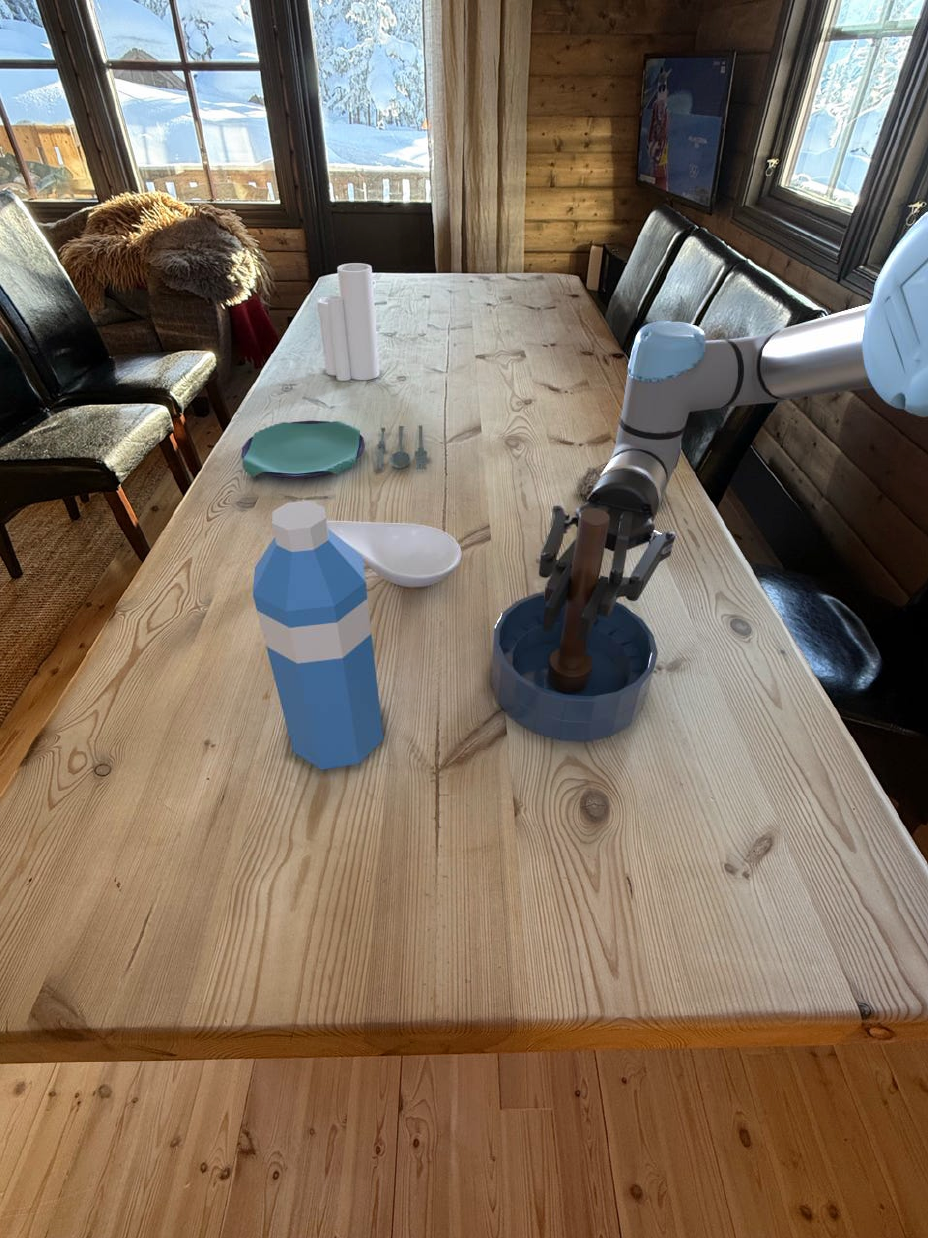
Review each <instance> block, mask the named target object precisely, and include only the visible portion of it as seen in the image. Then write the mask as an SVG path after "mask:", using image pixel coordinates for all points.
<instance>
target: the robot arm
mask: <svg viewBox="0 0 928 1238" xmlns="http://www.w3.org/2000/svg"><path fill="white" fill-rule="evenodd" d="M873 288H874V289H873V293H872V299H871V301H870V302H869V303H868V304H864V305H862V306H858V307H854V308H851V309H847V310H843V311H840V312H836V313H833V314H829V315H826V316H823V317H819V318H816V319H812V320H808V321H805V322H802V323H799V324H794V325H790V326H787V327H784V328H781V329H776V330H773V331H769V332H766V333H763V334H758V335H752V336H751V335H750V336H746V337H738V338H729V339H727V338H726V339H723V338H722V339H713V340H707V337H706V333H705V332H704V330H702V329H701V328H700V327H698V326H697V325H694V324H691V323H687V322H683V321H668V320H660V321H654V322H650V323H647V324H645V325H644V326H642V327H641V328H640V329H639V330H638V332H637V333H636V336H635V338H634V342H633V346H632V349H631V352H630V358H629V361H628V365H627V369H626V371H627V376H626V382H625V389H624V397H623V403H622V410H621V415H620V418H619V422H618V427H617V432H616V439H615V444H614V449H613V452H612V454H611V457H610V458H609V460H608V461H607V462H608V464H607V466H606V467H605V469H604V471H603V473H602V474H601V476H600V478H599V479H598V481H597V483H596V485H595V487H594V488H593V490H592V492H591V494H590V495H589V497H588V499H587V501H585V503H584V504H583V505H581V506H578V507H577V508H576V510H575V511H565V509H564V507H563V506H561V505H553V506H552V507H551V516H550V525H549V532H548V534H547V537H546V539H545V542H544V544H543V547H542V550H541V552H540V559H539V569H538V576H539V577H540V578H544V579H546V578H548V579H547V580H546V583H545V586H544V592H545V593H544V599H545V600H547V601H548V602H547V604H546V606H545V612H544V620H543V628H542V630H544V631H548V632H551V630H552V628H553V626H554V624H555V622H556V620H557V618H558V616H559V614H560V612H561V610H562V608H563V606H564V604H565V602H566V600H567V597H568V590H569V583H570V576H571V569H572V563H573V556H574V549H575V542H576V538H575V539H574V540H573V541H572V543H570V545H569V546H568V547H567V548H566V549H565V551H564V552H563V553H562V554H561V555H560V557H558V556H559V552H560V550H561V546H562V544H563V541H564V536H565V535H566V534H567V533H568V530H570V529H571V528H572V526H573V525H575V527H576V528H577V529H578V522H579V515H580V513H581V512H582V511H583V510H585V509H590V508H595V509H600V510H603V511H605V512H606V513H608V514H609V516H610V521H609V527H608V532H607V538H606V543H605V548H604V549H606V550H608V551H611V552H613V554H612V559H611V565H610V570H609V575H608V576H605V575H600V576H599V581H598V582H597V585H596V587H595V589H594V591H593V593H592V596H591V598H590V600H589V602H588V604H587V607H586V609H585V611H584V613H583V615H582V618H581V624H580V630H579V636H578V640H579V641H583V642H586V641H587V639H588V637H589V634H590V632H591V630H592V627H593V625H594V623H595V620H596V618H597V616H598V615H601V616H605V617H608V616H609V615H610V614H611V612H612V610H613V607H614V605H615V602H617V600H618V599H619V598H622V597H624V598H625V599H626V600H628V601H630V602H636V601H638V600H639V598H640V597H641V595H642V593H643V591H644V590H645V588H646V586H647V584H648V583H649V581H650V580H651V578H652V576H653V574H654V572H655V571H656V569H657V568H658V566H659V564H660V563H661V562H662V561H665V559H667V558H669V557H671V554H672V551H673V547H674V543H675V540H676V533H675V532H674V531H671V530H666V531H663V532H661V533H660V532H659V531H657V530H655V529H656V526H655V523H654V521H655V518H656V517H657V516H656V515H657V513H658V510H659V508H660V506H661V505H662V504H661V501H662V498H663V499H664V495H665V492H666V490H667V487H668V484H669V481H670V480H671V477H672V474H673V472H674V470H675V469H677V467H678V463H679V460H680V456H681V452H682V439H683V435H684V433H685V429H686V424H687V421H688V418H689V415H690V413H691V412H700V411H707V410H715V409H716V410H717V409H724V408H729V407H730V408H732V407H740V406H742V407H743V406H750V405H751V406H752V405H760V404H761V405H762V404H774V403H781V402H784V401H785V402H786V401H787V400H792V399H798V398H805V397H806V398H807V397H814V396H822V395H828V394H829V395H830V394H835V393H836V394H837V393H843V392H851V391H859V390H865V389H872V388H873V389H874V391H875V392H876V394H877V395H878V396H879V398H880V399H882V400H883V401H884V402H885V403H886V404H888V405H889V406H891V407H893V408H895V409H900V410H904V411H905V412H907V413H908V414H911V415H915V416H917V417H921V418H925V417H928V211H927V212H925V213H924V214H923V215H922V216H920V218H919V219H917V221H916V222H915V223H914V224H913V225H912V226H911V227H910V228H909V229H908V231H907V232H906V233H905V234H904V235H903V237H902V238H901V239H900V240H899V242H898V243H897V244H896V246H895V247H894V249H893V250H892V251H891V253H890V255H889V256H888V258H887V259H886V261H885V262H884V265H883V267H882V269H881V270H880V272H879V275H878V277H877V279H876V281H875V283H874V287H873ZM662 502H663V501H662ZM645 544H648V545H647V548H646V549H645V551H644V553H643V554H642V555H641V558H640V559H639V561H638V562H637V563H636V565H635V567H634V569H633V570H632V572H631V573H630V575H629V576H624V573H625V565H626V559H627V553H628V551H629V550H632V549H634V548H637V547H640V546H642V545H645Z"/></svg>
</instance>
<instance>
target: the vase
mask: <svg viewBox="0 0 928 1238" xmlns="http://www.w3.org/2000/svg"><path fill="white" fill-rule="evenodd" d="M336 268H337V278H338V289H339V295H334V294H333V295H329V296H327V297H320V298H317V300H316V303H317V304H316V305H317V311H318V319H319V320H318V321H319V327H320V334H321V335H320V336H321V343H322V351H323V359H324V367H325V373H326V374H327V375H329V376H333V377H334V376H335V377H336V380H337V381H340V382H347V381H350V380H351V379H352V380H356V381H369V380H370V381H371V380H375V379H376V378H378V377H379V376H380V361H379V347H378V335H377V334H378V333H377V321H376V305H375V294H374V280H373V267H372V265H370V264H367V263H361V262H359V263H358V262H354V263H353V262H351V263H344V264H341V265H338V266H337V267H336Z"/></svg>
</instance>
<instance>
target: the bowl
mask: <svg viewBox="0 0 928 1238" xmlns="http://www.w3.org/2000/svg"><path fill="white" fill-rule="evenodd" d="M544 593H545V591H541V592H537V593H533V594H530V595H528V596H526V597H523V598H521V599H518V600H516V601H515V602H514V603H512V604H511V605H510V606H509V607H507V608H506V609H505V610H504V611H502V612H501V615H500V617H499V619H498V620H497V622H496V624H495V625H494V628H493V642H492V643H493V644H492V662H491V682H490V684H491V688H492V691H493V694H494V696H495V698H496V701H497V703H498V705H500V707H501V708H502V709H503V710H504V711H505V712H506V713H507V715H508V716H509V717H510V718H511V719H512V720H514V721H515V722H516V723H518V724H519V725H521V726H523V727H525V728H526V729H528V730H529V731H531V732H533V733H534V734H538V735H541V736H544V737H548V738H551V739H554V740H558V741H565V742H582V743H586V742H592V741H597V740H602V739H606V738H611V737H613V736H614V735H616V734H617V733H620V732H622V731H623V730H625V729H627V728H628V727H630V726H631V725H632V724H633V723H634V721H635V720H636V719H637V718H638V717H639V715H641V713H642V711H643V710H644V706H645V703H646V699H647V695H648V693H649V689H650V686H651V681H652V678H653V675H654V671H655V667H656V663H657V659H658V654H659V651H658V648H657V647H658V646H657V642H656V639H655V636H654V634H653V633H652V632H653V631H651V630H650V627H648V625H647V623H646V622H645V621H644V620H643V618H642V617H640V616H639V615H638V614H637V613H635V612H634V611H633V610H631V609H630V608H629V607H627V606H626V605H624V604H622V603H620V602H618V601H616V602H615V605H614V607H613V610H612V612H611V614H610V615H609V616H608V617H605V616H601V615H598V616H597V618H596V620H595V623H594V625H593V627H592V630H591V632H590V634H589V637H588V641H587V647H586V653H587V654H588V655H589V656H590V657H591V660H592V669H591V674H590V679H589V683H588V685H587V686H586V687H585V688H584V689H583V690H581V691H579V692H574V693H568V692H563V691H560V690H558V689H556V688H554V687H553V686H552V685H551V684H550V682H549V680H548V677H547V674H548V667H549V659H550V655H551V654H552V652H553V651H555V650H556V649H558V648H560V644H561V638H562V631H563V624H564V617H565V610H566V604H567V600H566V602H565V604H564V606H563V608H562V610H561V612H560V614H559V616H558V618H557V620H556V622H555V624H554V626H553V628H552V630H551V632H548V631H544V630H542V628H543V620H544V612H545V606H546V604H547V602H548V601H547V600H545V599H544Z"/></svg>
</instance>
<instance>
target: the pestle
mask: <svg viewBox="0 0 928 1238" xmlns="http://www.w3.org/2000/svg"><path fill="white" fill-rule="evenodd" d="M609 521H610V516H609V514H608V513H606V512H605V511H603V510H600V509H595V508H590V509H585V510H583V511H582V512H581V513H580V515H579V522H578V528H577V530H576V536H575V539H576V542H575V549H574V556H573V563H572V569H571V576H570V583H569V590H568V597H567V604H566V610H565V617H564V624H563V631H562V638H561V644H560V648H558V649H556V650H555V651H553V652H552V654H551V655H550V659H549V667H548V674H547V677H548V680H549V682H550V684H551V685H552V686H553V687H554V688H556V689H558V690H560V691H563V692H568V693H574V692H579V691H581V690H583V689H584V688H585V687H586V686H587V685H588V683H589V679H590V674H591V669H592V660H591V657H590V656H589V655H588V654H587V653H586V647H587V641H588V639H587V641H586V642H583V641H579V640H578V636H579V630H580V624H581V618H582V615H583V613H584V611H585V609H586V607H587V604H588V602H589V600H590V598H591V596H592V593H593V591H594V589H595V587H596V585H597V582H598V581H599V578H600V576H601V570H602V564H603V558H604V554H605V549H606V548H605V543H606V538H607V532H608V527H609Z"/></svg>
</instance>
